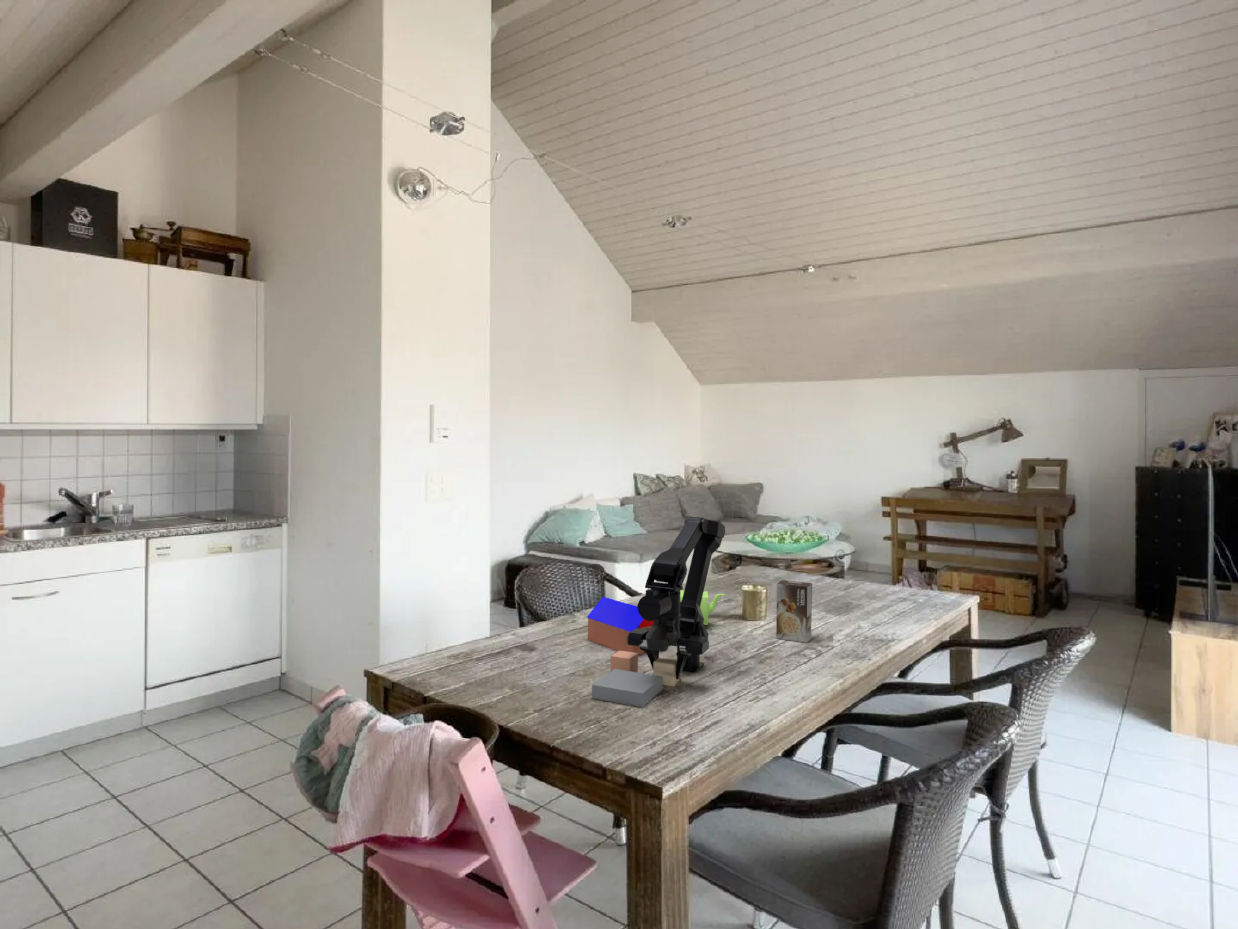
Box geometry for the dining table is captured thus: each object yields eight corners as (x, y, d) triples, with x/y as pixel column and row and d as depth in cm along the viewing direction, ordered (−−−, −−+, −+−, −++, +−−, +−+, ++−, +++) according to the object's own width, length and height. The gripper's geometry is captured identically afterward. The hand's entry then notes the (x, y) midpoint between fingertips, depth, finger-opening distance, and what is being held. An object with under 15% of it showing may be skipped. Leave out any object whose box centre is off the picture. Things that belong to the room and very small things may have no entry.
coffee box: (812, 638, 209) (813, 582, 208) (807, 643, 203) (808, 586, 203) (780, 633, 213) (782, 579, 213) (774, 638, 208) (776, 583, 207)
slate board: (614, 681, 170) (614, 669, 170) (662, 689, 165) (662, 676, 165) (591, 698, 159) (592, 684, 159) (642, 707, 154) (642, 693, 154)
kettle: (724, 626, 221) (725, 589, 220) (692, 634, 211) (693, 596, 211) (688, 616, 232) (689, 581, 231) (656, 623, 223) (657, 587, 222)
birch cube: (660, 676, 174) (661, 656, 174) (680, 680, 172) (680, 659, 172) (653, 683, 169) (653, 662, 169) (673, 686, 167) (673, 665, 167)
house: (632, 657, 189) (633, 613, 189) (586, 640, 204) (586, 599, 204) (666, 649, 197) (666, 607, 196) (618, 633, 212) (619, 593, 212)
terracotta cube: (618, 670, 178) (619, 650, 178) (637, 673, 176) (637, 653, 176) (610, 676, 174) (610, 656, 174) (629, 679, 172) (629, 659, 171)
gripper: (617, 614, 166) (616, 681, 167) (695, 624, 159) (693, 694, 159) (636, 604, 176) (635, 667, 177) (710, 613, 169) (709, 679, 169)
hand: (666, 677), depth 170 cm, fingers closed on birch cube, 5 cm apart
